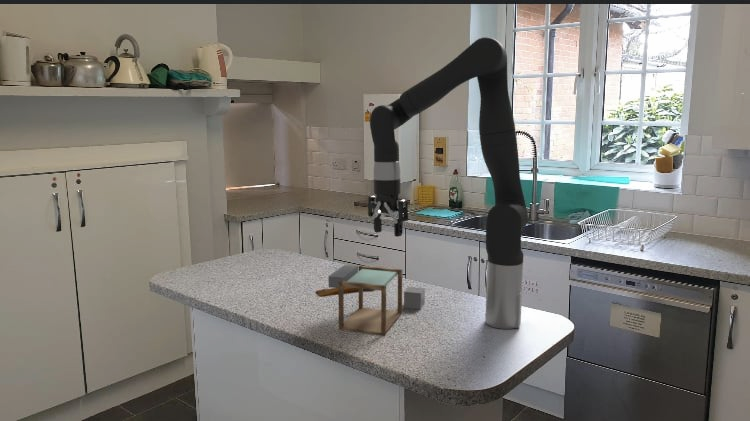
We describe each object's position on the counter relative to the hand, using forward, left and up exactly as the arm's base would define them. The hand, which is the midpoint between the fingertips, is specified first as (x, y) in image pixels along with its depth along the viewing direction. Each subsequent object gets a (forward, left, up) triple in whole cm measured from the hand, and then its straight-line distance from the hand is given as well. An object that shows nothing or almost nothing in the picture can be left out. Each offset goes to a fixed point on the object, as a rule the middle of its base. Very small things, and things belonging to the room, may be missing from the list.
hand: (387, 234), depth 165 cm
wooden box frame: (+1, +13, -22) cm, 25 cm away
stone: (-7, -3, -22) cm, 23 cm away
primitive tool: (+16, -10, -23) cm, 29 cm away
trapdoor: (+3, +13, -11) cm, 17 cm away
